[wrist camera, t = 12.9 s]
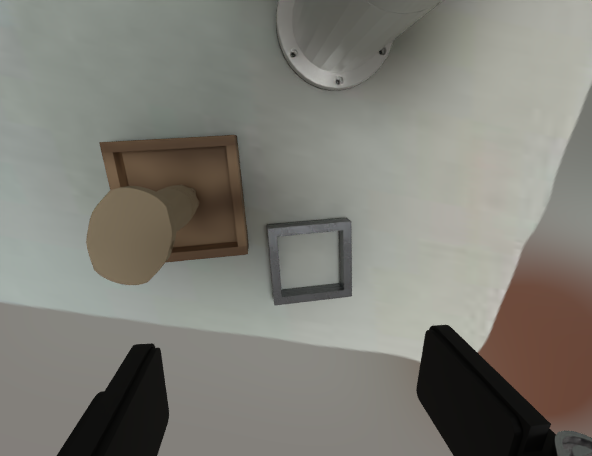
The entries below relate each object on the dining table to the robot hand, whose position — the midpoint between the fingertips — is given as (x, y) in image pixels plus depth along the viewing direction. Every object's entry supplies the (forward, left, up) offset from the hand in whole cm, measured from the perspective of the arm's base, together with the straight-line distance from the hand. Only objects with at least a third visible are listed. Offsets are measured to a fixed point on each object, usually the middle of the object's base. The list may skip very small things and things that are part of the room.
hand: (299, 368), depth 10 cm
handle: (-2, -9, -26) cm, 27 cm away
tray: (-2, -9, -26) cm, 28 cm away
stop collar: (+7, +5, -26) cm, 28 cm away
